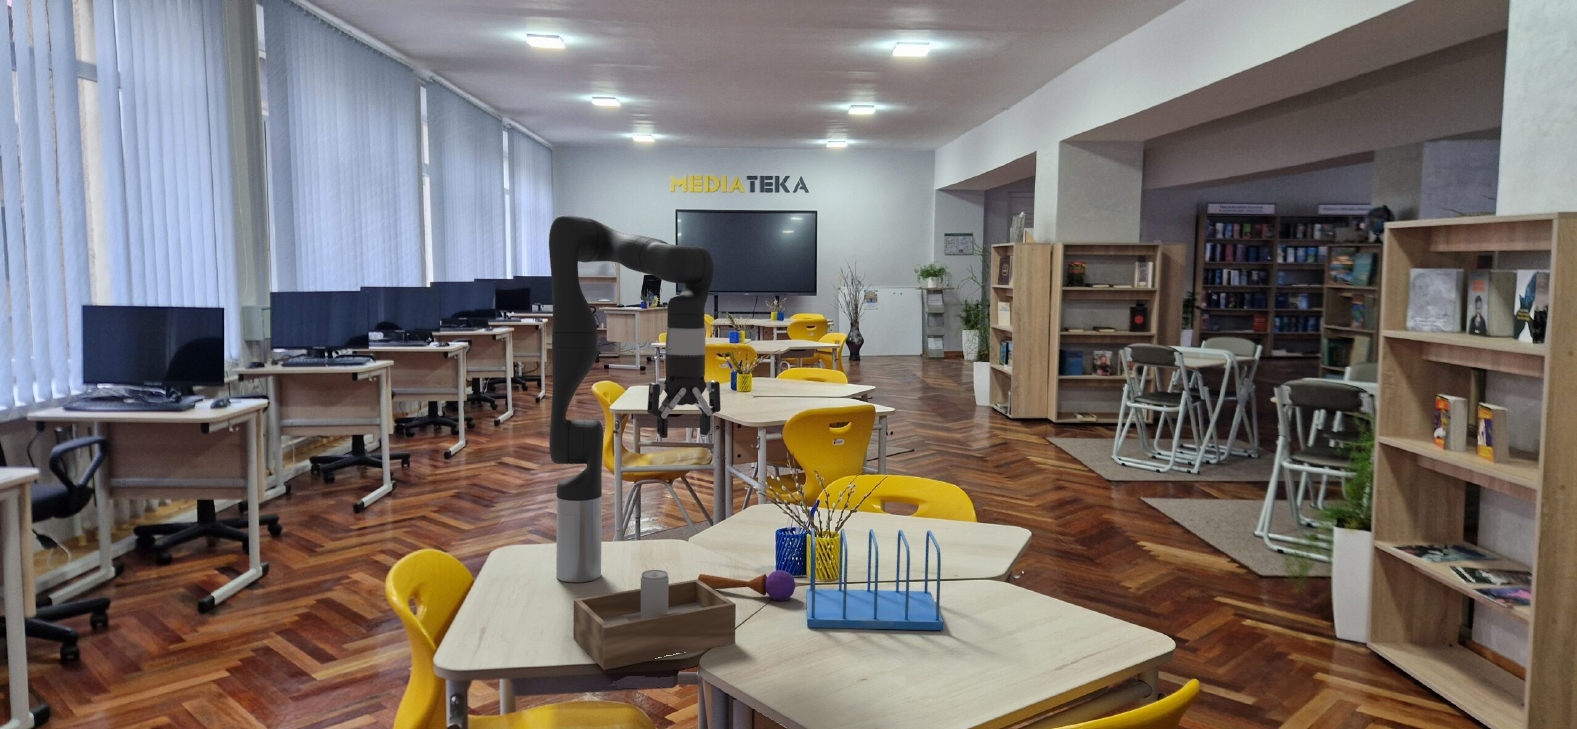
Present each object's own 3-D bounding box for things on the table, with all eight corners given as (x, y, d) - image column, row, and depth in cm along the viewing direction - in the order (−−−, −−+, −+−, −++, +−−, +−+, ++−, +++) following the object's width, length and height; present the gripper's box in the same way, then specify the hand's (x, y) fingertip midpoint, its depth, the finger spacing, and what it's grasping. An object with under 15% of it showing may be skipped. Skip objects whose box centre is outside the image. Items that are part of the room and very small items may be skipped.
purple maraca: (706, 565, 194) (798, 569, 188) (705, 595, 193) (798, 599, 188) (695, 568, 188) (790, 572, 183) (694, 599, 188) (790, 603, 182)
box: (573, 638, 164) (573, 599, 163) (697, 615, 176) (697, 579, 175) (604, 670, 151) (604, 628, 150) (734, 642, 163) (735, 604, 163)
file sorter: (930, 600, 188) (933, 525, 187) (943, 633, 171) (947, 551, 170) (806, 597, 188) (808, 522, 187) (807, 629, 171) (809, 547, 170)
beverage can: (671, 636, 165) (672, 570, 164) (662, 647, 161) (663, 579, 160) (645, 634, 166) (646, 568, 165) (635, 644, 162) (636, 576, 160)
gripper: (658, 354, 170) (657, 441, 172) (727, 352, 178) (726, 436, 179) (642, 350, 177) (641, 435, 178) (710, 349, 184) (708, 430, 186)
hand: (684, 436), depth 179 cm, fingers open, 8 cm apart
